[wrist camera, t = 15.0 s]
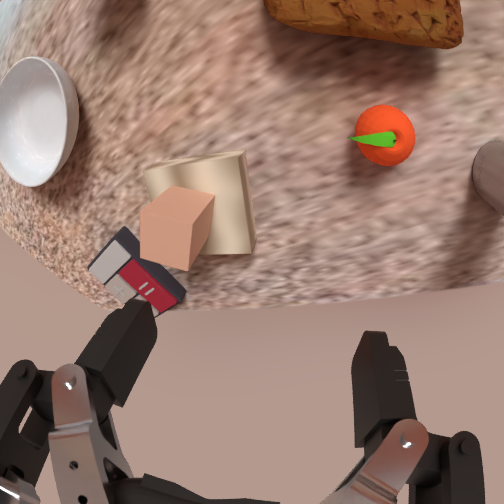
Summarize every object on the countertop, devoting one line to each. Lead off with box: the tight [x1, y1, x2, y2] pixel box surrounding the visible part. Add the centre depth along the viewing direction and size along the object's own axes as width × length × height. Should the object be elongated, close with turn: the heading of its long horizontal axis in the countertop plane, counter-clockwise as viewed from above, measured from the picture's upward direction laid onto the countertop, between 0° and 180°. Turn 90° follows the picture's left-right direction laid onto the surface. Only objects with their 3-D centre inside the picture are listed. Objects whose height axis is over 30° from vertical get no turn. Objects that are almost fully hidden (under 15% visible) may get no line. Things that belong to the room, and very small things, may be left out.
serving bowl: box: [0, 56, 79, 187], centre depth 32 cm, size 21×21×7 cm
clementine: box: [347, 105, 415, 166], centre depth 27 cm, size 8×7×7 cm
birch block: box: [143, 150, 257, 255], centre depth 37 cm, size 12×12×5 cm
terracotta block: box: [140, 185, 215, 271], centre depth 31 cm, size 6×6×8 cm
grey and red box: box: [87, 226, 186, 318], centre depth 46 cm, size 11×4×15 cm
